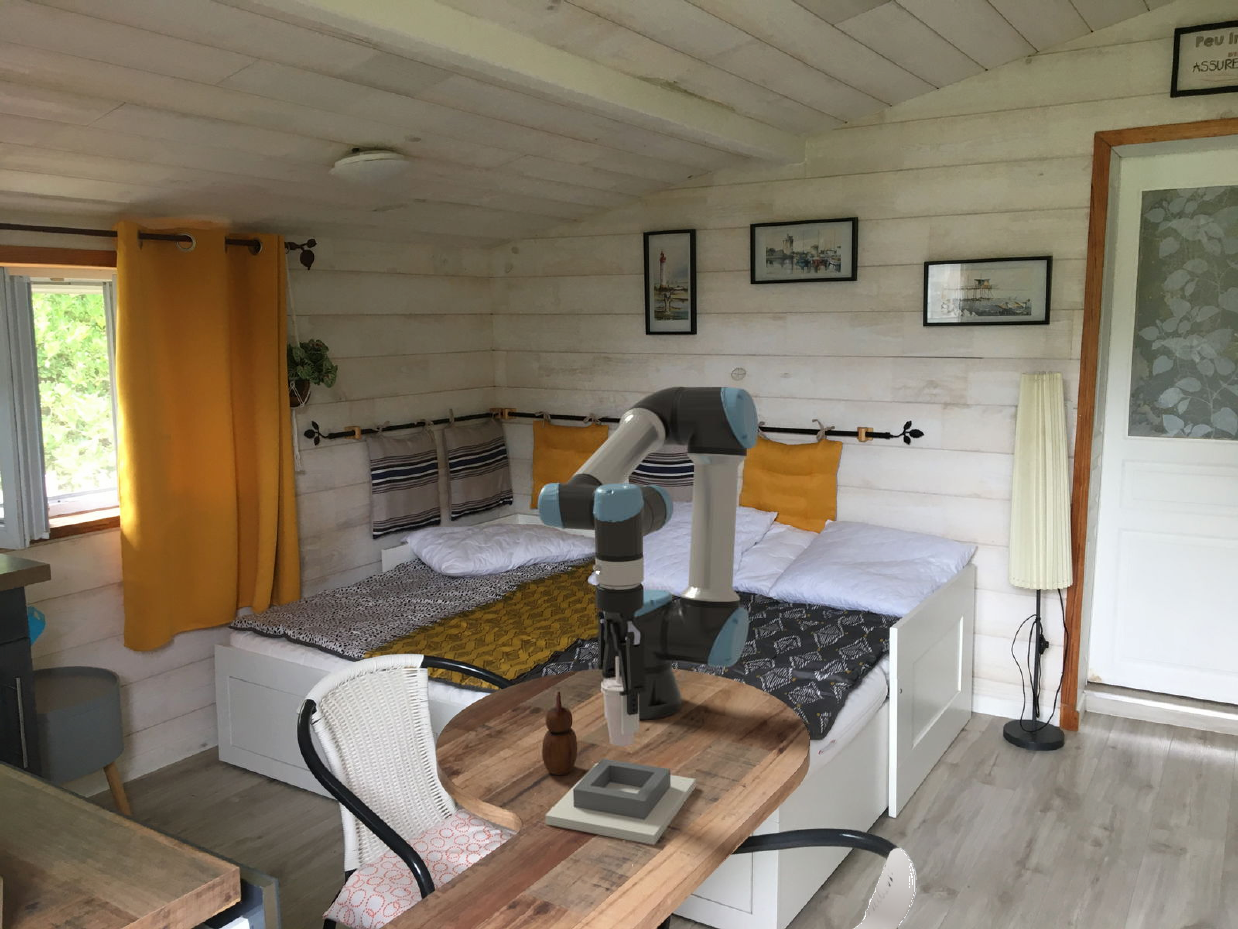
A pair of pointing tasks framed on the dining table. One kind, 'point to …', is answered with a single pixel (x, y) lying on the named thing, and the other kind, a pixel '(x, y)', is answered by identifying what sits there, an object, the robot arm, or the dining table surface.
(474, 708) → the dining table surface
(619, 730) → the smoothie
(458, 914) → the dining table surface
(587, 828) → the socket board
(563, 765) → the wooden figurine
